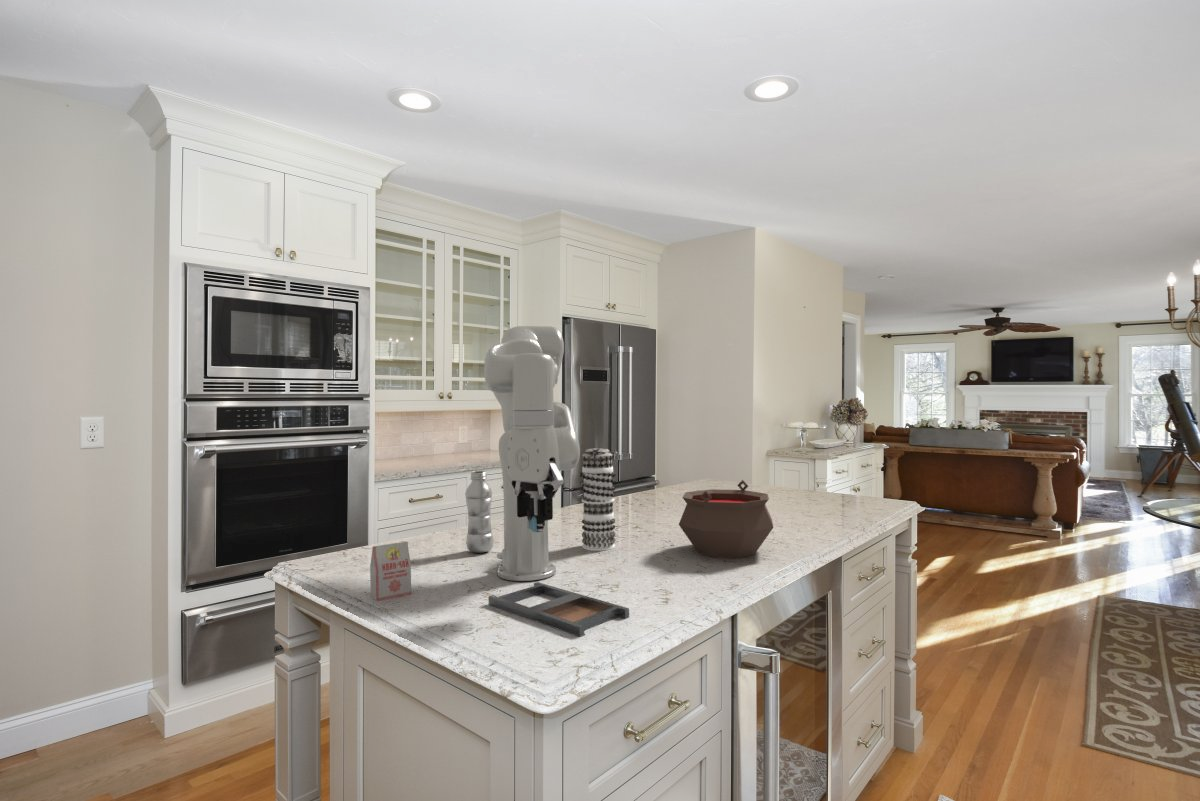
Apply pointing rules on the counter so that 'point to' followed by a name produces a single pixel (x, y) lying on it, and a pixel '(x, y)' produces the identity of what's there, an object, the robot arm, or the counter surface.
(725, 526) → the brown cauldron
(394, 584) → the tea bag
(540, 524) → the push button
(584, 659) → the counter surface
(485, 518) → the plastic bottle
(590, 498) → the decorative candle
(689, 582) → the counter surface
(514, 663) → the counter surface
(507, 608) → the rail
